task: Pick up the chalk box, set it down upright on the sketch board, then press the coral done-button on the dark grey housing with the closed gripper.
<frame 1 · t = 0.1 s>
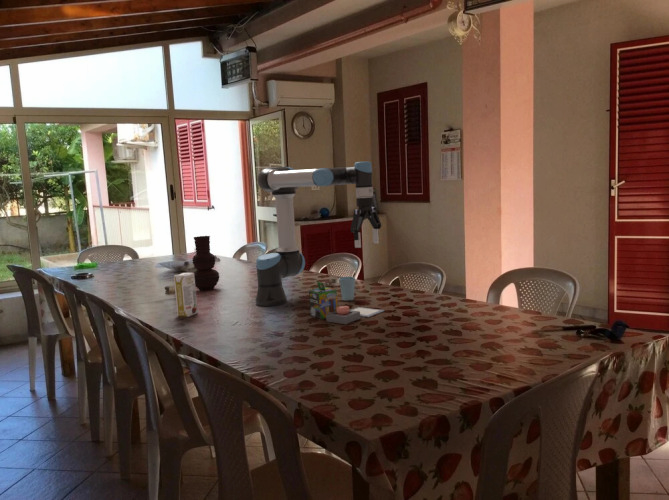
hand: (367, 245, 253), 28 cm above the table, fingers open, 13 cm apart
vase: (206, 290, 319), on the table
done button: (342, 310, 236), point 4 cm above the table, slide at 0.0 cm
chalk box: (324, 316, 246), on the table
sketch board: (363, 312, 248), on the table
cup: (348, 299, 275), on the table
button housing: (343, 320, 237), on the table
juice carton: (187, 315, 262), on the table
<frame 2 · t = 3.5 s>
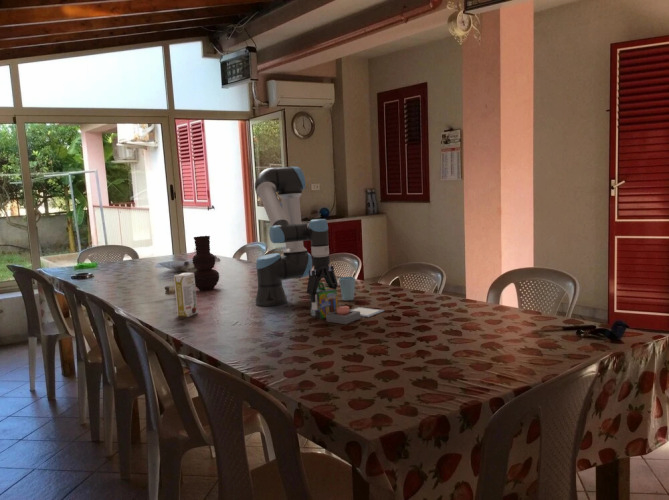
hand: (323, 306, 245), 4 cm above the table, fingers closed on chalk box, 10 cm apart
chalk box: (324, 316, 246), on the table, touching gripper
everything else where it was.
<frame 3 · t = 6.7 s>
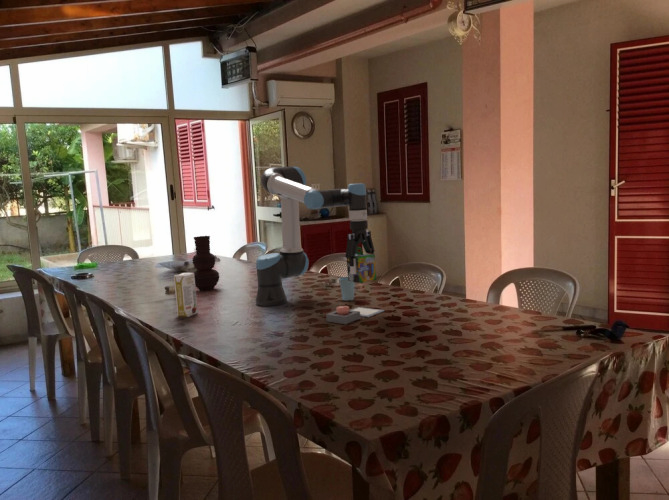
hand: (361, 271, 245), 18 cm above the table, fingers closed on chalk box, 10 cm apart
chalk box: (361, 281, 246), point 14 cm above the table, touching gripper
everything else where it was.
when the fingers open (6 cm above the table, at t = 9.2 s): chalk box drops 2 cm, resting on sketch board.
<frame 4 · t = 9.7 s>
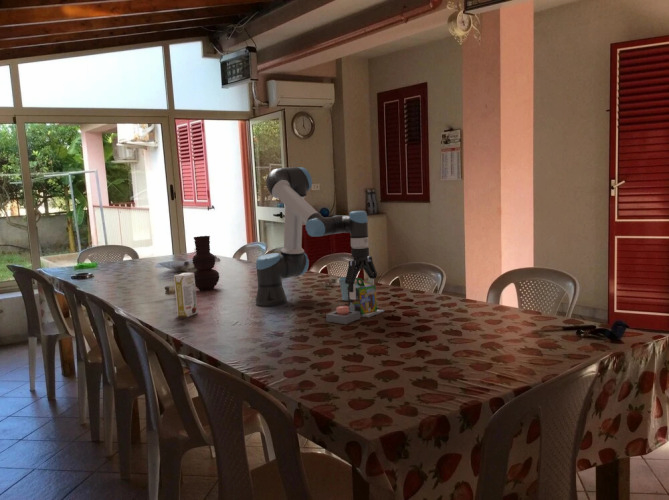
hand: (362, 296, 247), 7 cm above the table, fingers open, 13 cm apart
chalk box: (362, 311, 248), resting on sketch board
everything else where it was.
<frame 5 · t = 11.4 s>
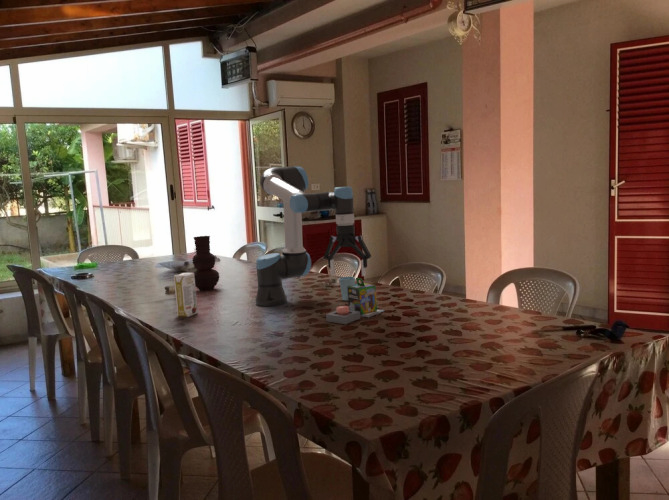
hand: (348, 275, 238), 18 cm above the table, fingers open, 13 cm apart
nothing on the table moved.
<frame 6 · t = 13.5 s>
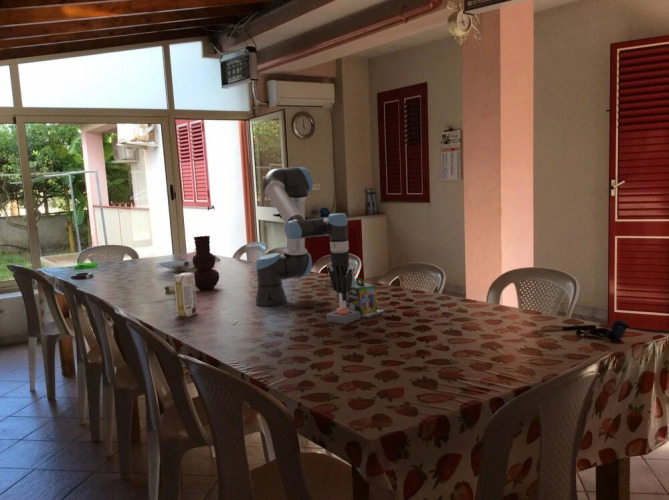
hand: (342, 308, 236), 5 cm above the table, fingers closed
done button: (343, 311, 237), point 3 cm above the table, slide at 0.6 cm, touching gripper
everything else where it was.
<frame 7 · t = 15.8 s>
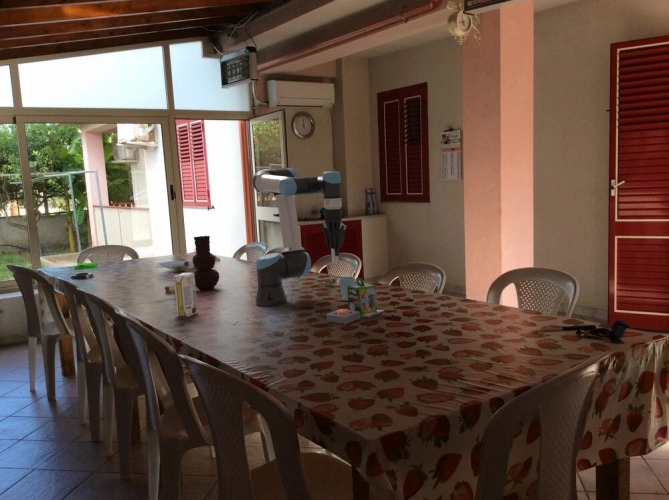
hand: (335, 263, 245), 22 cm above the table, fingers closed
done button: (343, 313, 237), point 3 cm above the table, slide at 1.4 cm
everything else where it was.
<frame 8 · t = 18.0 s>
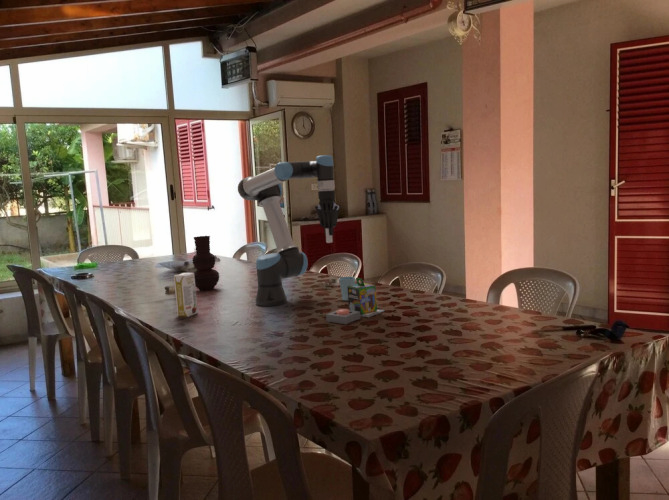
hand: (329, 242, 260), 29 cm above the table, fingers closed
nothing on the table moved.
at the end: chalk box inside the target area on the sketch board (0.1 cm from its centre), point 0.3 cm above the sketch board's base; chalk box tilted 0°; done button slide at 1.4 cm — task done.
